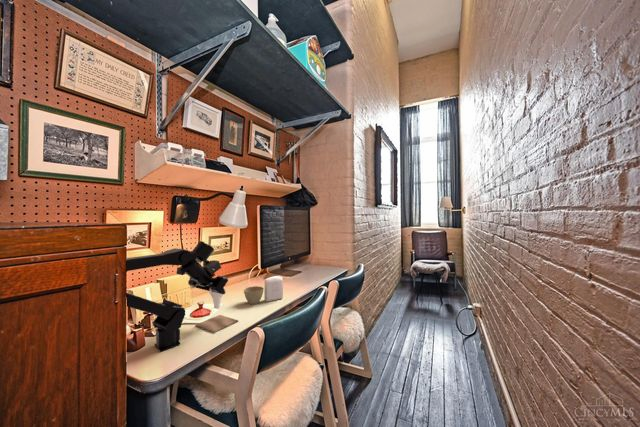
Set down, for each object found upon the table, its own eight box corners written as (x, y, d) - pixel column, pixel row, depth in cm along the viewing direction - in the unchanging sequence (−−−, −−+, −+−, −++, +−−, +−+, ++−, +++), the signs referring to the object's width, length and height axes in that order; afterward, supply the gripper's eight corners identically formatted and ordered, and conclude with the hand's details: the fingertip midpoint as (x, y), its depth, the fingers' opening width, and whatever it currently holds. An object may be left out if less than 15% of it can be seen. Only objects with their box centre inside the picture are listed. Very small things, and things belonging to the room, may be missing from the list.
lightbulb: (219, 311, 105) (218, 285, 105) (206, 310, 106) (205, 284, 106) (227, 306, 111) (227, 281, 111) (215, 305, 112) (215, 280, 112)
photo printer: (280, 296, 143) (280, 274, 143) (284, 298, 139) (284, 276, 139) (263, 300, 137) (263, 277, 137) (266, 302, 133) (266, 278, 133)
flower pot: (248, 299, 139) (248, 286, 139) (266, 299, 138) (265, 286, 138) (240, 305, 129) (240, 291, 129) (259, 306, 128) (259, 292, 128)
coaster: (214, 333, 99) (214, 331, 99) (195, 326, 105) (195, 324, 105) (238, 321, 110) (238, 320, 110) (219, 316, 116) (219, 314, 116)
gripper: (224, 257, 101) (245, 278, 110) (195, 253, 110) (216, 273, 119) (206, 281, 94) (230, 302, 103) (176, 275, 103) (201, 295, 113)
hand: (219, 292), depth 110 cm, fingers closed on lightbulb, 6 cm apart
